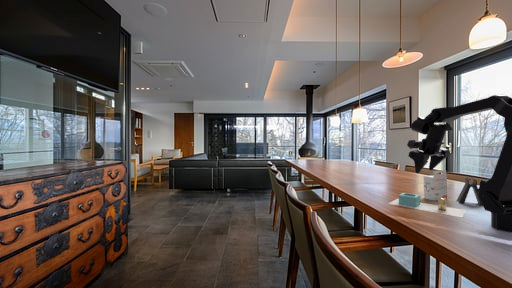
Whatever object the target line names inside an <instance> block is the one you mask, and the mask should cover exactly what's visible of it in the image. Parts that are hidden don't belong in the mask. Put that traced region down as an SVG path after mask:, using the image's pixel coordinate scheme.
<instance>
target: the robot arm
mask: <svg viewBox="0 0 512 288" xmlns="http://www.w3.org/2000/svg"><path fill="white" fill-rule="evenodd" d="M491 110H492V111H493V112H495V113H496V114H497V115H499V116H501V117H502V118H504V119H503V128H504V130H505V132H506V136H505V139H504V142H503V145H502V147H501V150H500V154H499V156H498V159H497V162H496V165H495V168H494V170H493V173H492V176H491V177H490V178H489V179H481V180H480V182H479V186H478V187H477V188H478V190H477V191H479V192H478V197H479V198H480V200H481V202H482V204H483V206H482V207H483V208H484V210H485V211H487V212H490V214H491V215H490V219H491V220H490V224H491V225H490V226H491V227H492V228H494V229H496V230H497V231H502V232H507V233H512V97H510V96H508V95H505V94H503V95H501V94H494V95H491V96H488V97H486V98H481V99H478V100H474V101H470V102H467V103H462V104H459V105H456V106H447V107H446V106H445V107H435V108H433V109H432V110H431V112H429V114H428V115H426V116H425V117H423V116H417V118H416V119H415V120H414V121H413V122H412V123H411V124H410V129H411V130H412V131H413V132H417V133H418V134H421V135H425V138H422V139H421V140H415V139H410V140H408V141H407V144H406V146H407V147H408V148H409V150H410V151H409V152H408V155H407V157H408V158H410V159H411V160H412V161H413V164H414V170H415V171H414V172H415V173H416V174H419V173H420V172H421V171H422V170H423V169H424V168H425V166H427V164H428V162H429V164H428V165H429V166H428V170H429V171H432V170H433V169H435V168H436V167H437V166H438V165H439V164H440V163H442V162H443V161H444V160H445V159H447V157H449V156H450V155H451V151H450V150H449V149H448V148H445V147H442V145H445V141H444V139H445V136H446V132H447V131H453V130H454V129H453V127H452V126H451V125H450V123H451V122H454V121H456V120H458V119H459V118H462V117H465V116H470V115H473V114H477V113H482V112H486V111H491ZM442 123H443V124H442ZM412 149H415V150H412ZM429 159H430V160H429Z"/></svg>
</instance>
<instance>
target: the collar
mask: <svg viewBox="0 0 512 288" xmlns="http://www.w3.org/2000/svg"><path fill="white" fill-rule="evenodd" d="M406 193H407V192H402V193H400V194H398V199H399V204H402V205H407V206H413V207H417V206H419V205H420V203H421V194H416V193H412V194H413V196H406Z"/></svg>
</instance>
